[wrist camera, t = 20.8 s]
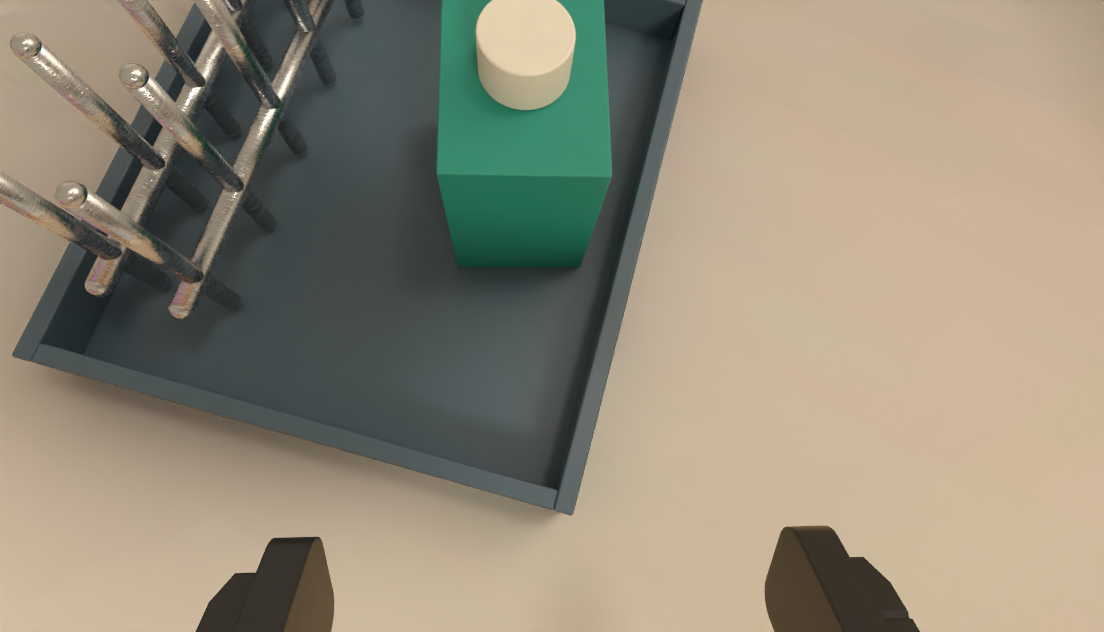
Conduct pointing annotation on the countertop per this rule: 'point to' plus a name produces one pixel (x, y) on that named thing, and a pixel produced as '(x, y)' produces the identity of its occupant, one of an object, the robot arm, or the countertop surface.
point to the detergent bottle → (522, 129)
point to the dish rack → (178, 145)
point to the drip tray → (380, 266)
